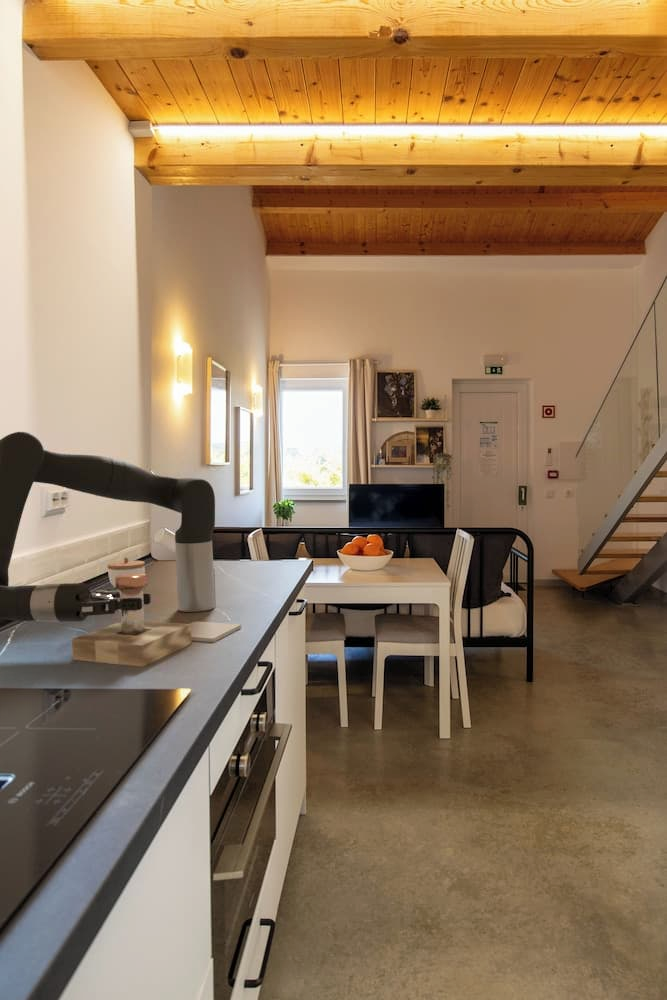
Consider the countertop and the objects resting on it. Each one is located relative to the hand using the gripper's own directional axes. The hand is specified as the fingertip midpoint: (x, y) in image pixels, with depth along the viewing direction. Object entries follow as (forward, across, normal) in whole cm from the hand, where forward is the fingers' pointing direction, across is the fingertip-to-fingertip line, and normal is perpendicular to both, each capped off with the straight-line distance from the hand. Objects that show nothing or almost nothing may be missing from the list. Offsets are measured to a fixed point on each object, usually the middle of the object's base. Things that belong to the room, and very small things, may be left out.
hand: (145, 601), depth 130 cm
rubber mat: (+8, +13, +10) cm, 19 cm away
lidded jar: (-28, +67, +10) cm, 74 cm away
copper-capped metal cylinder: (-3, 0, +10) cm, 10 cm away
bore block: (-3, 0, +10) cm, 10 cm away
